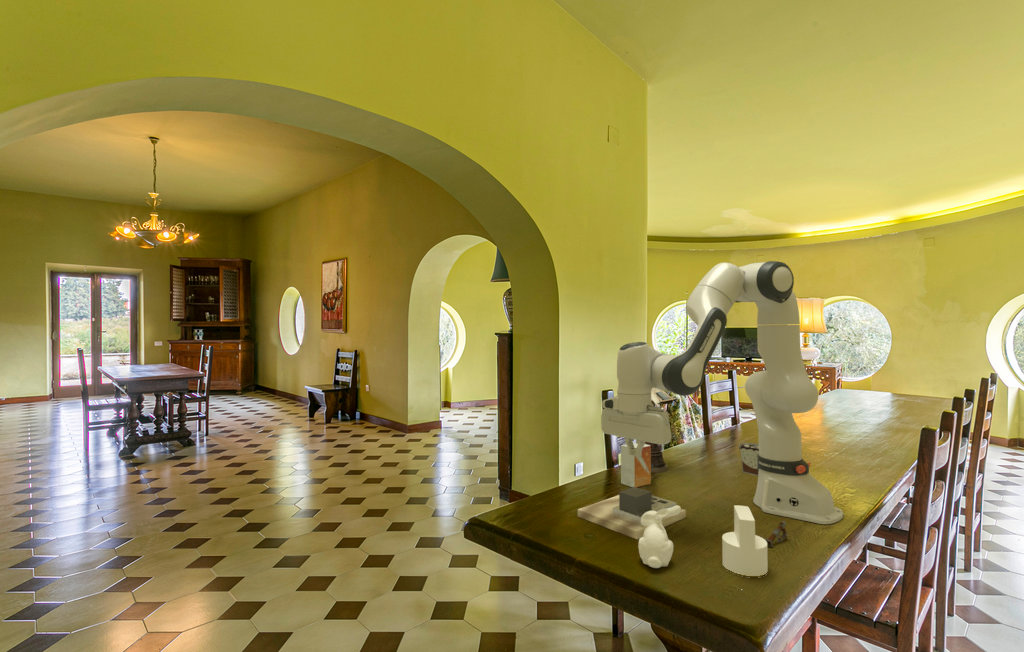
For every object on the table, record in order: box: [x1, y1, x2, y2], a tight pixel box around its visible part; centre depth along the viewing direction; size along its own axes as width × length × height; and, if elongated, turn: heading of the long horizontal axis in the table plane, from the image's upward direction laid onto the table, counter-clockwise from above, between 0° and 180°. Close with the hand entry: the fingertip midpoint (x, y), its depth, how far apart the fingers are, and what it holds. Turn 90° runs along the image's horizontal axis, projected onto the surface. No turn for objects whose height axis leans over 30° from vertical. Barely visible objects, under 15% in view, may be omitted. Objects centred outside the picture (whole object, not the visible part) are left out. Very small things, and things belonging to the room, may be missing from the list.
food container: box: [738, 442, 759, 477], centre depth 178 cm, size 12×6×10 cm, turn 34°
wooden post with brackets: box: [763, 521, 789, 548], centre depth 122 cm, size 2×8×5 cm, turn 122°
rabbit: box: [637, 504, 682, 569], centre depth 113 cm, size 12×9×12 cm
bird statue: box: [645, 388, 678, 474], centre depth 185 cm, size 17×13×35 cm
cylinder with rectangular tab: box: [721, 505, 769, 576], centre depth 110 cm, size 9×9×12 cm
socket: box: [613, 495, 677, 527], centre depth 136 cm, size 9×16×2 cm, turn 130°
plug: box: [618, 487, 653, 515], centre depth 134 cm, size 6×9×6 cm, turn 130°
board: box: [577, 494, 687, 540], centre depth 139 cm, size 20×22×2 cm
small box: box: [620, 442, 652, 488], centre depth 168 cm, size 8×6×13 cm
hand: (635, 455), depth 133 cm, fingers closed
